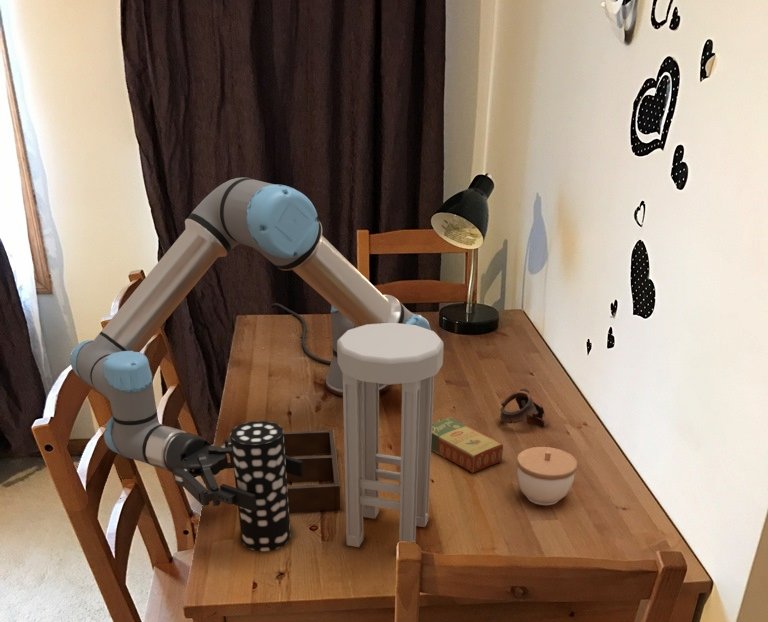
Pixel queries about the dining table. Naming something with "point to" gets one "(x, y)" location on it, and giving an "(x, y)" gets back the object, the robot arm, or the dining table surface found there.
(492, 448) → the carton
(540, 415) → the broken clay pot
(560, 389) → the dining table surface
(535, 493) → the trinket box
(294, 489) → the open wooden box
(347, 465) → the stool
